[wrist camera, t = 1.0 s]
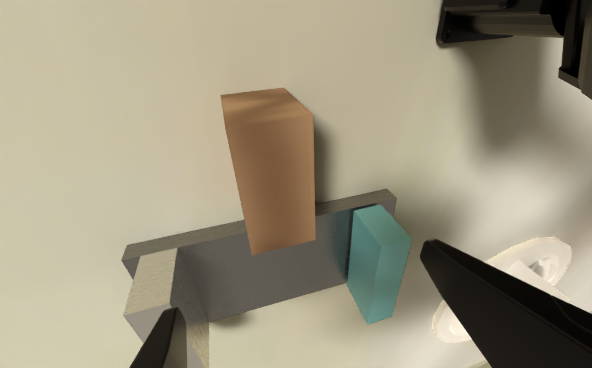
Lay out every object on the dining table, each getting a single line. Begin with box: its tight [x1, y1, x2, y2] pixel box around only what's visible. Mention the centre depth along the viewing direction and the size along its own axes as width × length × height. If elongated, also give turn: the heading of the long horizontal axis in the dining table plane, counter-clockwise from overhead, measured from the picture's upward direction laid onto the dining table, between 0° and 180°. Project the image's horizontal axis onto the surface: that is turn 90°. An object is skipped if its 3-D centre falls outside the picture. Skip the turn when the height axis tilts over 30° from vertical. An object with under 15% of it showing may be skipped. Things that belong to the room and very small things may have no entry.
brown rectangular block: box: [221, 88, 315, 255], centre depth 16 cm, size 4×8×6 cm, turn 3°
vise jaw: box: [347, 205, 412, 325], centre depth 23 cm, size 2×10×4 cm, turn 3°
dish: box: [432, 237, 572, 343], centre depth 39 cm, size 25×25×11 cm
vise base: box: [121, 189, 397, 368], centre depth 22 cm, size 22×10×6 cm, turn 93°
